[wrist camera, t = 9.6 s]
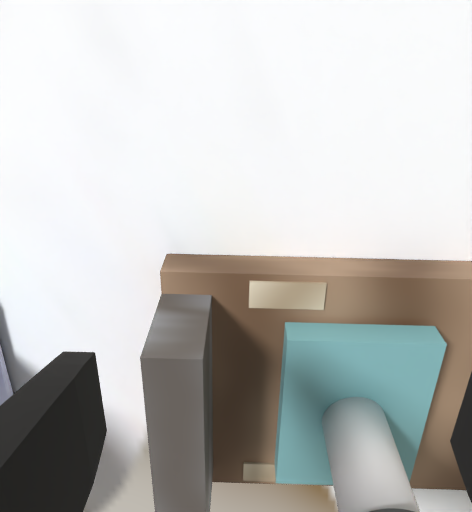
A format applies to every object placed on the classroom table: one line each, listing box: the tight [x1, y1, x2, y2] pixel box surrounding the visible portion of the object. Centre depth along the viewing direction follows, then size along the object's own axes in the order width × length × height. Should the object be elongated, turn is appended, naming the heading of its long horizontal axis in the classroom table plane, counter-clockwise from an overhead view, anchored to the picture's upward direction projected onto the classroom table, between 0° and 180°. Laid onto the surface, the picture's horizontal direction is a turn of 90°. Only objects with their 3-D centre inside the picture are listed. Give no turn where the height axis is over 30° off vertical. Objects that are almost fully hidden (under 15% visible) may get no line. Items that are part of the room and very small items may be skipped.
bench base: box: [140, 254, 472, 512], centre depth 19 cm, size 18×12×6 cm, turn 89°
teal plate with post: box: [275, 322, 447, 512], centre depth 17 cm, size 6×8×7 cm
